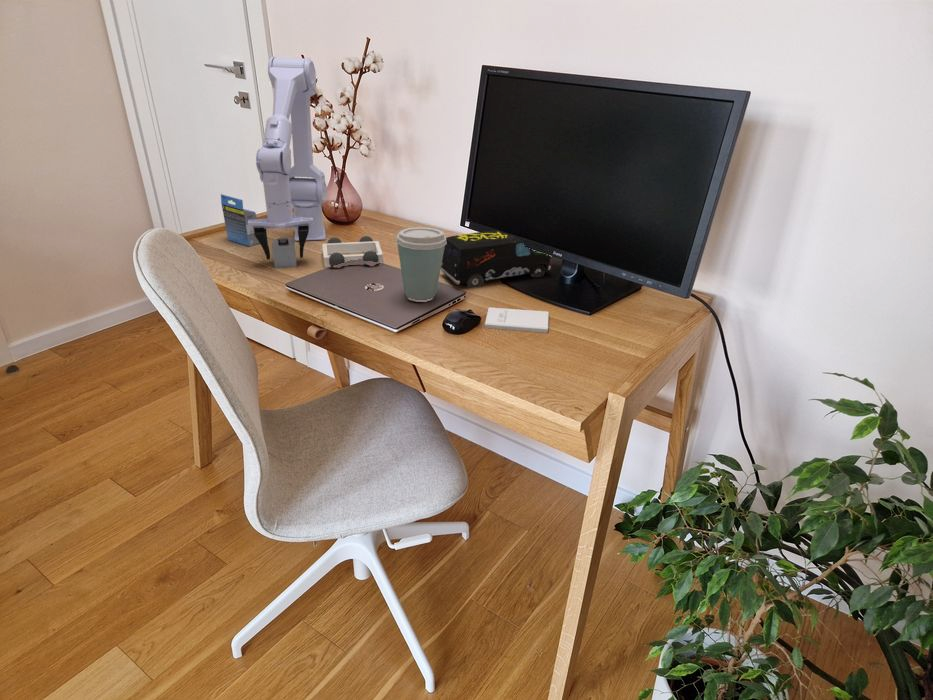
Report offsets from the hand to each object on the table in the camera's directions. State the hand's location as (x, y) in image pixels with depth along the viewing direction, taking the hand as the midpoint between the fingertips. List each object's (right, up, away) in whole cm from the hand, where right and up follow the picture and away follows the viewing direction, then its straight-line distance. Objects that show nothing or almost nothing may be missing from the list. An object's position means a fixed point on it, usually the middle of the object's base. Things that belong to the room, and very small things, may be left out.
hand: (285, 257), depth 150 cm
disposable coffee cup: (+34, -11, -14) cm, 38 cm away
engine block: (0, -1, +1) cm, 2 cm away
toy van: (+50, -5, -2) cm, 51 cm away
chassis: (+15, 0, +5) cm, 16 cm away
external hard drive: (+54, -17, -23) cm, 61 cm away
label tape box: (-15, +6, +14) cm, 21 cm away
